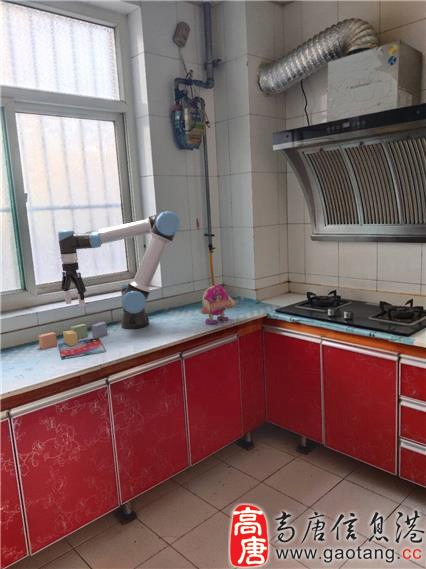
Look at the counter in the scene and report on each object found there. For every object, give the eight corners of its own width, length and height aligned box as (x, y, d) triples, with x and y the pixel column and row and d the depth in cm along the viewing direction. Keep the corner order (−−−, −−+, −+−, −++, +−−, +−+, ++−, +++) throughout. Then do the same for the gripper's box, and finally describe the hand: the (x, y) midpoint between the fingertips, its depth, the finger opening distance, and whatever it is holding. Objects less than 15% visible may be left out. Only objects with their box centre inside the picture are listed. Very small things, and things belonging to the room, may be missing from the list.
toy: (205, 328, 223) (203, 289, 220) (195, 325, 230) (192, 288, 226) (241, 318, 238) (239, 282, 235) (230, 316, 245) (228, 281, 242)
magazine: (61, 361, 187) (61, 359, 187) (58, 345, 210) (57, 343, 210) (106, 353, 194) (106, 351, 194) (98, 339, 217) (98, 337, 217)
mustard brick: (64, 344, 211) (63, 332, 210) (71, 342, 213) (69, 330, 212) (71, 346, 206) (69, 334, 205) (78, 344, 208) (76, 332, 207)
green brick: (84, 335, 225) (83, 323, 224) (87, 336, 222) (86, 324, 221) (71, 338, 220) (70, 326, 219) (75, 339, 217) (73, 327, 216)
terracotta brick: (54, 344, 212) (52, 332, 211) (57, 345, 209) (55, 333, 208) (39, 347, 207) (38, 335, 206) (42, 349, 204) (41, 336, 203)
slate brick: (101, 333, 226) (100, 322, 225) (107, 333, 224) (106, 322, 223) (92, 337, 220) (91, 325, 219) (98, 337, 218) (96, 326, 217)
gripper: (50, 262, 218) (56, 304, 222) (75, 264, 201) (81, 309, 205) (64, 260, 224) (70, 301, 227) (90, 262, 206) (95, 306, 210)
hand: (75, 305), depth 216 cm, fingers open, 13 cm apart
